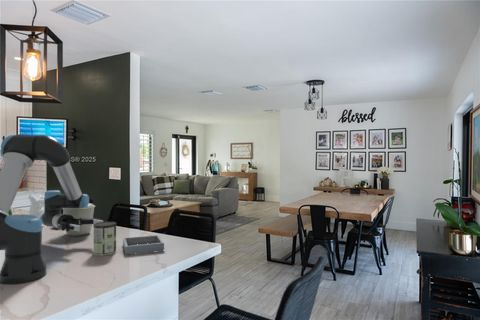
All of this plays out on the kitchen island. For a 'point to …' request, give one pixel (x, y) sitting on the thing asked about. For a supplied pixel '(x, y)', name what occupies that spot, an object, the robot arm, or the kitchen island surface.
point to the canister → (79, 214)
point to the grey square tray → (145, 247)
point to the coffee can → (104, 238)
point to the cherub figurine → (36, 206)
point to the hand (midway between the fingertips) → (91, 225)
